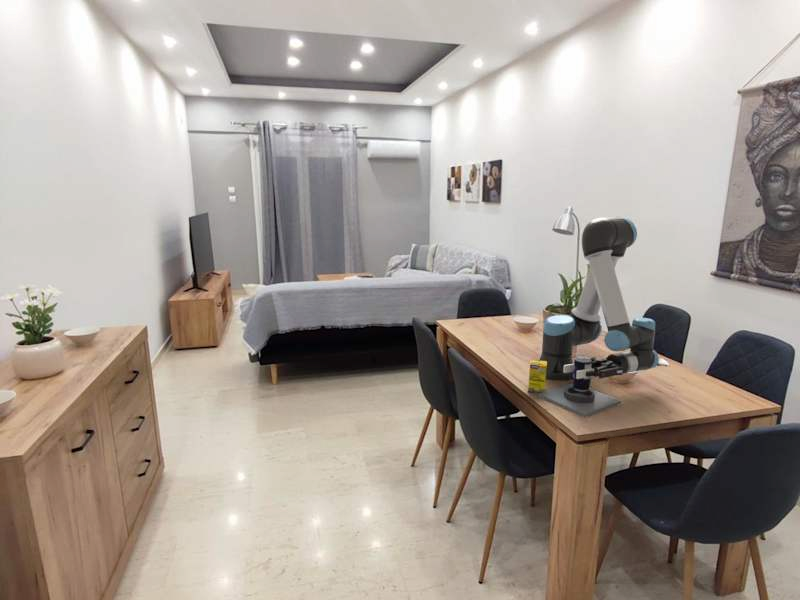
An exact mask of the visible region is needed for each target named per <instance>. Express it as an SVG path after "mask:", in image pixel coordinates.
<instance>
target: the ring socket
mask: <svg viewBox="0 0 800 600" xmlns="http://www.w3.org/2000/svg"><path fill="white" fill-rule="evenodd" d="M538 396H540V397H539V398H541V397H542V398H541V399H543V398H544V399H543V400H545V399H546V400H545V401H547V400H548V402H550V401H551V402H550V403H552V402H553V403H552V404H554V403H555V405H556V404H557V406H559V407H561V408H563V407H564V409H566V410H568V411H570V412H572V411H573V412H572V413H574V412H575V414H577V415H580V416H581V415H582V416H581V417H583V416H584V417H583V418H587V417H589V416H592V415H594V414H597V412H598V413H600V412H602V411H605V410H609V409H611V408H613V407H617V406H618V405H621V404H622V403H623V401H622V400H620V399H618V398H615V397H612V396H610V395H607V394H605V393H603V392H600V391H598V390H595V389H591V388H590V389H588V390H587V391H585V392H581V391H577V390H575V388H574V387H573V382H572V383H568V384H565V385H561V386H558V387H555V388H552V389H548V390H545V392H541V393H537V397H538Z"/></svg>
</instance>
